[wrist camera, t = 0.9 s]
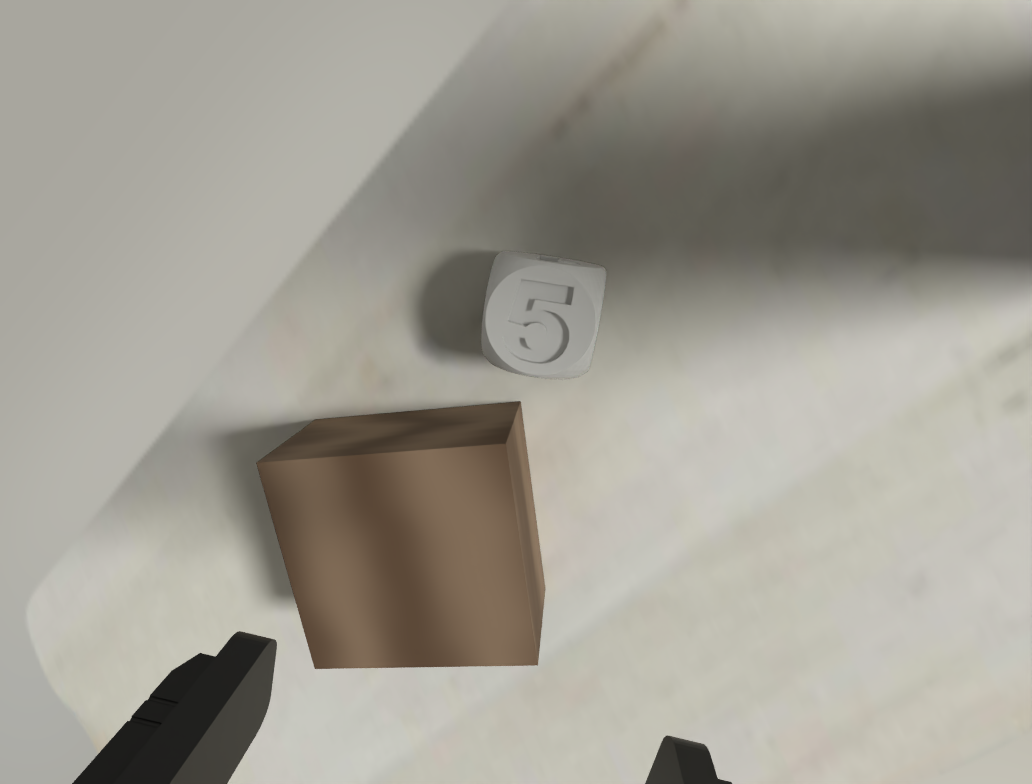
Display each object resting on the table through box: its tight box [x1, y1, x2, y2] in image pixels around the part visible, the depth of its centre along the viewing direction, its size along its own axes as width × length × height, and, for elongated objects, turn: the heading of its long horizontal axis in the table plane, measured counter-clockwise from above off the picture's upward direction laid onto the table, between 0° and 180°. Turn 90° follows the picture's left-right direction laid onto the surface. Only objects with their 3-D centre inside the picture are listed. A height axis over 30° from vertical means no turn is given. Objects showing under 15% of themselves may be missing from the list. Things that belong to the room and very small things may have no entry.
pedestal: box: [256, 402, 545, 669], centre depth 29 cm, size 12×12×6 cm
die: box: [481, 251, 606, 379], centre depth 25 cm, size 5×5×5 cm
